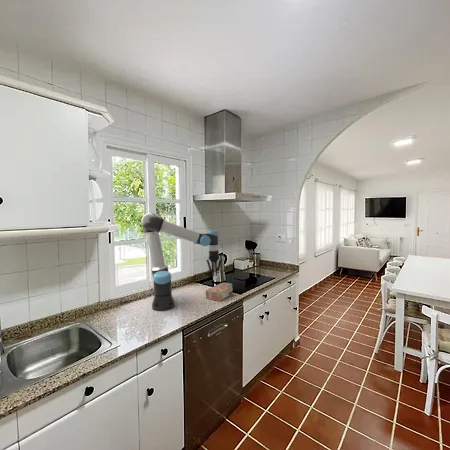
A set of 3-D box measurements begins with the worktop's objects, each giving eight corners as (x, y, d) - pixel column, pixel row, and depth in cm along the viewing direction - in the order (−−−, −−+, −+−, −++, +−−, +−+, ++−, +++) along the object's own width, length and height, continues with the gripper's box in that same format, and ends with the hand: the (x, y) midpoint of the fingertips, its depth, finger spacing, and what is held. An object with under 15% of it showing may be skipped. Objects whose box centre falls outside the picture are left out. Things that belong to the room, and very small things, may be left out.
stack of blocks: (222, 281, 201) (235, 283, 194) (223, 289, 202) (235, 291, 194) (205, 290, 184) (218, 293, 177) (206, 298, 185) (219, 301, 177)
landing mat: (221, 297, 186) (221, 296, 186) (214, 288, 207) (214, 288, 207) (234, 295, 189) (234, 295, 189) (225, 287, 210) (225, 286, 210)
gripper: (206, 251, 188) (207, 282, 190) (223, 250, 192) (224, 280, 193) (204, 250, 195) (205, 279, 197) (220, 248, 199) (221, 277, 201)
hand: (214, 280), depth 195 cm, fingers closed
